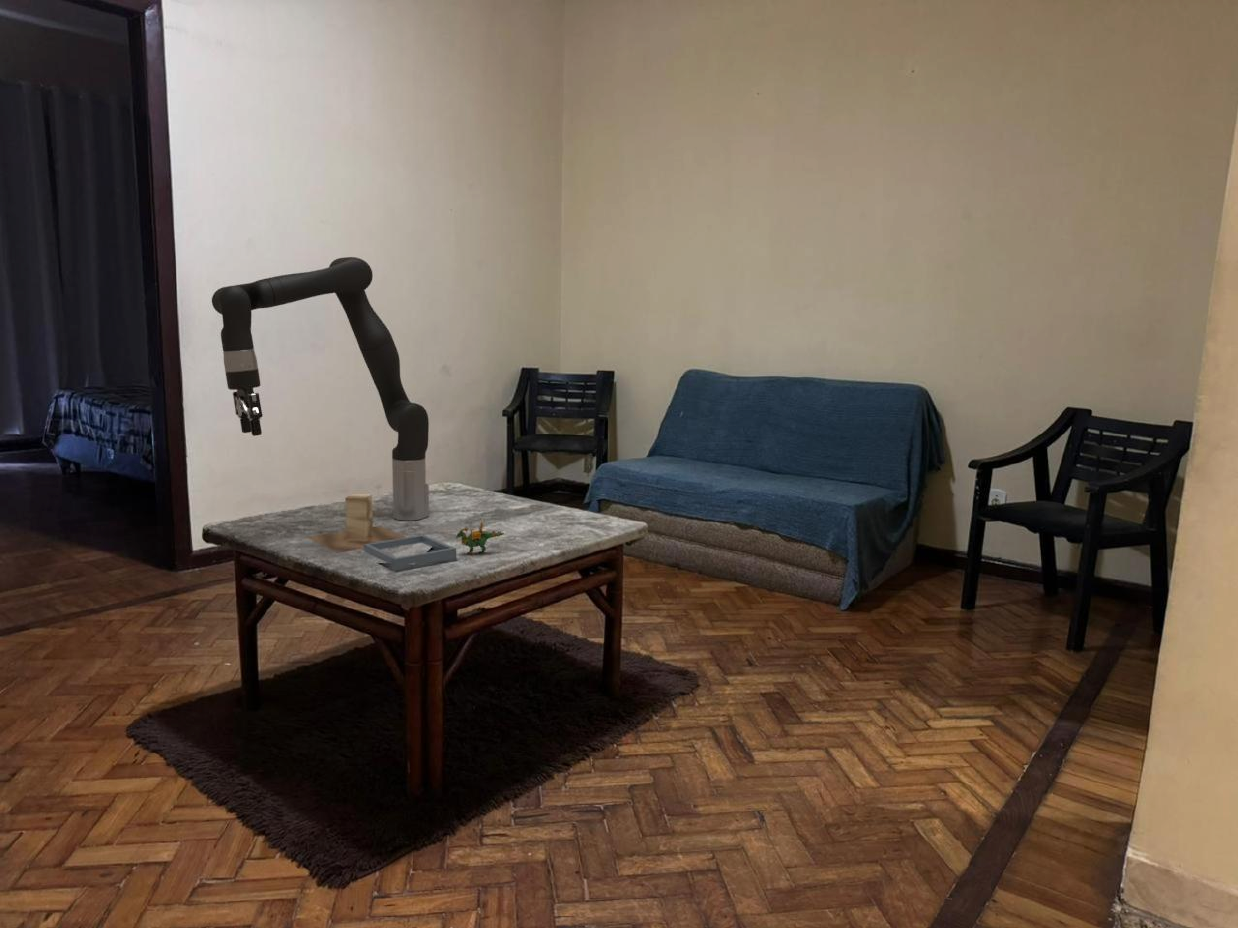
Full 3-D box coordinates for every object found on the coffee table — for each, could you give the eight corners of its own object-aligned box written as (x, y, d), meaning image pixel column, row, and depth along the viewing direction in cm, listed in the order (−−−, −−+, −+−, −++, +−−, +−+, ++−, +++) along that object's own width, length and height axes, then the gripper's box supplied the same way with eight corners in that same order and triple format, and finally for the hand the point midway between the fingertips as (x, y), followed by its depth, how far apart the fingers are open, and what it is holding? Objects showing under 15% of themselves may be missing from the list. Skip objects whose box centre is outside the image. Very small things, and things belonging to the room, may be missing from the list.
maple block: (353, 535, 224) (352, 493, 222) (372, 536, 224) (371, 494, 222) (346, 540, 219) (345, 497, 217) (365, 541, 219) (364, 498, 217)
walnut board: (380, 531, 235) (380, 525, 235) (412, 545, 222) (412, 539, 221) (307, 542, 222) (307, 536, 222) (336, 558, 209) (336, 552, 208)
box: (423, 546, 222) (423, 534, 221) (456, 560, 210) (456, 548, 209) (364, 556, 211) (363, 544, 211) (395, 572, 199) (395, 559, 199)
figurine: (455, 553, 216) (455, 521, 215) (503, 550, 220) (503, 518, 218) (456, 556, 213) (456, 524, 212) (505, 553, 217) (505, 521, 215)
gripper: (266, 367, 211) (276, 433, 214) (249, 366, 222) (258, 429, 225) (233, 371, 207) (244, 438, 210) (217, 370, 218) (228, 434, 221)
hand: (251, 433), depth 218 cm, fingers open, 8 cm apart
